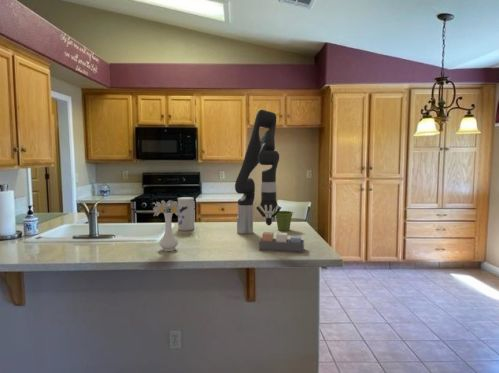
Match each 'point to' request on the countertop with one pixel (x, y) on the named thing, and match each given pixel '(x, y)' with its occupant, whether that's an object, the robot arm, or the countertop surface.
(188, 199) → the container
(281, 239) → the white key
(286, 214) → the plant pot
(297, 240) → the slate key
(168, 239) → the flower vase
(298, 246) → the key panel
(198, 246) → the countertop surface
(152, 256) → the countertop surface
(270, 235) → the terracotta key
